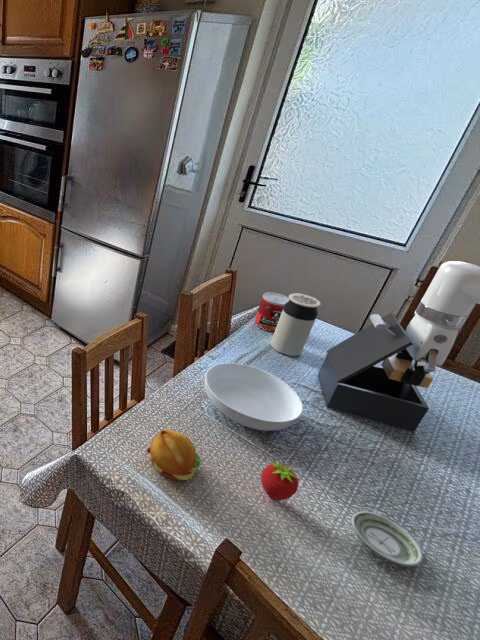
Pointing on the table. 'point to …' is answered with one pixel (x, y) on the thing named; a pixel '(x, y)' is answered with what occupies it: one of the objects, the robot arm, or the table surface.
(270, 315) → the canned food
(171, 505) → the table surface
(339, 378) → the lid
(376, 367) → the lidded storage box
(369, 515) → the saucer
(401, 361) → the brown rectangular block
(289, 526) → the table surface
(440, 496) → the table surface
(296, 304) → the travel mug
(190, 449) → the cheeseburger
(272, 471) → the strawberry
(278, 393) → the serving bowl
